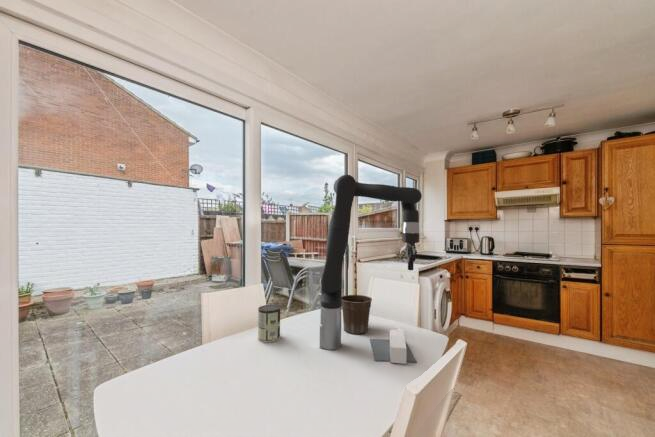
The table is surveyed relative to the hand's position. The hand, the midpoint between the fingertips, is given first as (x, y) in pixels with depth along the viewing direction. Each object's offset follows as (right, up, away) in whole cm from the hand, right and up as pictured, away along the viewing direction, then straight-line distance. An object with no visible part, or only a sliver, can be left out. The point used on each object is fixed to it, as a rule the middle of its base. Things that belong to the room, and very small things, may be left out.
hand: (410, 270), depth 129 cm
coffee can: (-65, -32, +2) cm, 73 cm away
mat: (-11, -33, -9) cm, 36 cm away
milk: (-11, -29, -22) cm, 38 cm away
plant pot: (-24, -33, +14) cm, 43 cm away
